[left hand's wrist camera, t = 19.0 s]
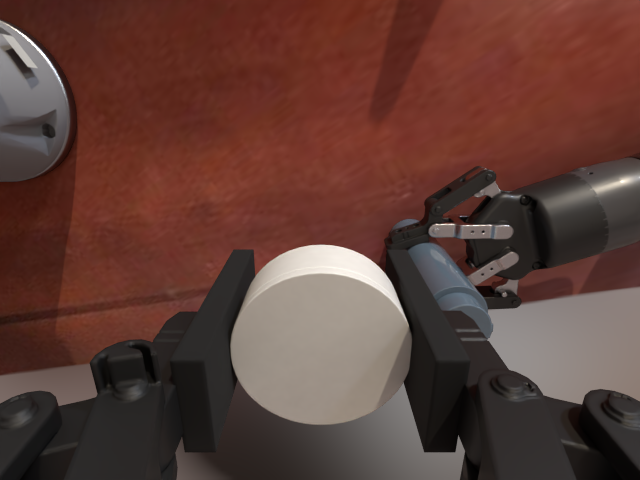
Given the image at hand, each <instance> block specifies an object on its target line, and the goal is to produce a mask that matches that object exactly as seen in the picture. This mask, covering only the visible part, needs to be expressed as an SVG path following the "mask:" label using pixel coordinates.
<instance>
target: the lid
mask: <svg viewBox="0 0 640 480" xmlns="http://www.w3.org/2000/svg"><path fill="white" fill-rule="evenodd" d="M411 346H412V335H411V331H410V328H409V324H408V322H407V319H406V317H405V314H404V312H403V309H402V307H401V304H400V302H399V299H398V297H397V294H396V292H395V289H394V287H393V285H392V283H391V281H390V280H389V278H388V277H387V275H386V274H385V273H384V272H383V271H382V270H381V269H380V267H379V266H377V265H376V264H375V263H374V262H372V261H371V260H370V259H368V258H366V257H365V256H363V255H361V254H359V253H357V252H355V251H353V250H349V249H346V248H343V247H338V246H332V245H311V246H305V247H300V248H297V249H293V250H290V251H288V252H286V253H284V254H281V255H279V256H278V257H276V258H275V259H273V260H272V261H270V262H269V263H268V264H267V265H265V266H264V267H263V268H262V269H261V270H260V272H259V273H258V274H257V275H256V276H255V278H254V279H253V281H252V282H251V284H250V287H249V289H248V291H247V293H246V296H245V299H244V301H243V304H242V306H241V309H240V312H239V314H238V317H237V320H236V322H235V325H234V328H233V331H232V335H231V342H230V355H231V361H232V366H233V368H234V371H235V374H236V376H237V378H238V380H239V382H240V384H241V385H242V387H243V388H244V389H245V391H246V392H247V393H248V394H249V395H250V396H251V397H252V399H253V400H255V401H256V402H257V403H258V404H259V405H261V406H262V407H264V408H265V409H267V410H268V411H270V412H272V413H274V414H276V415H278V416H280V417H283V418H285V419H288V420H291V421H295V422H299V423H305V424H314V425H328V424H338V423H344V422H348V421H352V420H355V419H358V418H360V417H363V416H365V415H367V414H369V413H371V412H373V411H375V410H376V409H378V408H379V407H381V406H382V405H383V404H385V403H386V402H387V401H388V400H389V399H390V398H391V397H392V396H393V395H394V394H395V393H396V392H397V391H398V389H399V388H400V387H401V385H402V384H403V382H404V380H405V378H406V376H407V374H408V371H409V366H410V356H411Z"/></svg>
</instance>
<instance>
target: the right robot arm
mask: <svg viewBox="0 0 640 480" xmlns="http://www.w3.org/2000/svg"><path fill="white" fill-rule="evenodd" d="M495 180H496V174H495V172H494V171H492V170H489V169H486V168H484V167H481V166H477V167H475V168H473V169H472V170H470V171H468V172H467V173H465V174H464V175H462V176H461V177H459V178H458V179H456V180H454V181H453V182H451V183H450V184H448V185H447V186H445V187H444V188H442V189H441V190H439V191H437V192H436V193H434V194H433V195H431V196H430V197H428V198H427V199H426V200H425V202H424V205H425V215H424V218H423V219H422V220H421V221H419V222H417V223H413V224H410V225H407V226H404V227H401V228H398V229H395V230H393V231H391V232H390V233H389V235H390V237H388V238H386V239H385V240H384V241H385V244H386V248H387V250H402V249H406V248H409V247H412V246H415V245H418V244H422V243H425V242H428V241H429V237H455V238H459V239H464V240H465V242H466V253H467V255H466V256H465V257H463V258H461V259H460V260H458V261H457V263H456V264H457V266H458V267H459V268H460V269H461V270H462V272H463V273H464V274H465V275H466V277H467V278H468V279H469V280H470V282H471V283H472V284H473V285H474V287H475V288H476V289H477V290H478V291H479V293H480V294H481V295H482V296H483V298H484V299H485V301H486V304H487V308H488V309H507V308H517V307H518V306H520V304H521V299H520V298H519V297H518V296H517V288H518V280H519V279H521V278H523V277H524V276H526V275H527V274H528V273H529V272H531V271H533V270H536V269H545V268H552V267H555V266H559V265H562V264H566V263H569V262H573V261H576V260H580V259H583V258H587V257H590V256H593V255H597V254H600V253H604V252H607V251H611V250H614V249H618V248H621V247H625V246H628V245H631V244H633V243H636V242H638V241H640V153H638V154H635V155H631V156H628V157H625V158H622V159H618V160H613V161H608V162H603V163H598V164H594V165H591V166H588V167H581V168H577V169H574V170H573V171H570V172H569V173H566V174H563V175H559V176H556V177H553V178H550V179H547V180H544V181H541V182H538V183H534V184H531V185H528V186H525V187H522V188H519V189H516V190H514V191H502V190H499V188H498V186H497V184H496V183H495ZM484 195H487V197H486V198H485V199H484V200H483V201H482V202H481V203H480V205H479V206H478V207H477V208H476V209H475V210H474V212H473V213H472V214H471V215H449V216H446V217H443V214H444V213H446V212H448V211H449V210H451V209H452V208H454V207H456V206H457V205H459V204H460V203H462V202H464V201H465V200H467V199H468V198H470V197H471V196H475V197H482V196H484ZM473 267H476V268H475V269H472V268H473ZM493 275H496V276H499V277H503V279H502V280H501V281H497V282H492V285H491V286H475V285H478V284H479V283H481V282H483V281H484V280H486V279H488V278H489V277H491V276H493Z"/></svg>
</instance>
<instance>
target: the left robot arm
mask: <svg viewBox="0 0 640 480" xmlns="http://www.w3.org/2000/svg"><path fill="white" fill-rule="evenodd" d="M76 125H77V115H76V106H75V101H74V97H73V93H72V90H71V87H70V85H69V83H68V80H67V78H66V76H65V74H64V72H63V71H62V69H61V67H60V66H59V64H58V63H57V61H56V60H55V59H54V57H53V56H52V55H51V54H50V53H49V51H48V50H47V49H46V48H45V47H44V46H43V45H42V44H41V43H40V42H39V41H37V40H36V39H35V38H34V37H33V36H31V35H30V34H28V33H27V32H26V31H24V30H22V29H21V28H19V27H17V26H15V25H13V24H11V23H9V22H6V21H3V20H1V19H0V182H13V181H22V180H27V179H31V178H35V177H39V176H42V175H44V174H46V173H48V172H50V171H52V170H53V169H55V168H56V167H57V166H58V165H59V164H60V163H61V162H62V161H63V160H64V159H65V157H66V156H67V154H68V153H69V151H70V149H71V147H72V144H73V141H74V138H75V133H76ZM385 274H386V275H387V277H388V278H389V280H390V281H391V283H392V285H393V287H394V289H395V292H396V294H397V297H398V299H399V302H400V304H401V307H402V309H403V312H404V314H405V317H406V319H407V322H408V324H409V328H410V331H411V335H412V346H411V356H410V366H409V371H408V374H407V376H406V378H405V380H404V385H405V388H406V392H407V395H408V399H409V402H410V405H411V409H412V412H413V415H414V419H415V422H416V426H417V429H418V432H419V436H420V439H421V442H422V446H423V449H424V452H455V451H456V445H457V439H458V435H459V437H460V440H461V442H462V445H463V447H464V449H465V455H464V461H463V466H462V472H461V477H460V480H640V402H639V401H638V400H636V399H634V398H632V397H630V396H628V395H625V394H622V393H619V392H616V391H610V390H603V389H599V390H592V391H590V392H589V393H587V394H586V395H585V397H584V400H583V404H582V405H581V404H576V403H572V402H567V401H562V400H558V399H554V398H550V397H547V396H543V394H542V392H541V391H540V389H539V388H538V386H537V385H536V384H535V383H534V382H532V381H531V380H530V379H529V378H527V377H525V376H523V375H521V374H519V373H517V372H514V371H511V370H509V369H508V368H507V366H506V365H505V364H504V362H503V361H502V359H501V358H500V357H499V355H498V354H497V352H496V351H495V349H494V348H493V347H492V345H491V344H490V342H489V341H487V338H486V337H485V335H484V334H483V332H481V329H480V328H479V327H478V325H477V324H476V322H475V321H474V320H473V319H472V318H471V317H469V316H468V315H466V314H465V313H463V312H462V311H442V310H441V308H440V307H439V305H438V303H437V301H436V300H435V298H434V296H433V294H432V293H431V291H430V289H429V288H428V286H427V284H426V282H425V281H424V279H423V277H422V275H421V274H420V272H419V270H418V269H417V267H416V265H415V263H414V262H413V260H412V258H411V257H410V255H409V253H408V251H407V250H387V254H386V269H385ZM254 278H255V266H254V251H253V250H233V252H232V254H231V255H230V257H229V259H228V260H227V262H226V264H225V266H224V267H223V269H222V271H221V272H220V274H219V276H218V278H217V279H216V281H215V283H214V285H213V286H212V288H211V290H210V291H209V293H208V295H207V297H206V298H205V300H204V302H203V303H202V305H201V307H200V309H199V310H198V312H179V313H177V314H176V315H174V316H173V317H172V318H170V319H169V320H167V321H166V323H165V324H164V326H163V327H162V328H161V330H160V331H159V333H158V334H157V336H156V337H155V338H154V340H153V342H152V343H151V342H150V341H146V340H142V339H141V340H127V341H123V342H119V343H116V344H114V345H111V346H109V347H107V348H105V349H104V350H102V351H101V352H99V353H98V354H96V355H95V357H94V358H93V359H92V360H91V362H90V366H91V370H92V374H93V377H94V381H95V385H96V389H97V393H98V394H97V397H95V398H92V399H89V400H85V401H80V402H76V403H71V404H67V405H62V406H58V403H57V400H56V397H55V396H54V395H53V394H52V393H50V392H45V391H34V392H27V393H24V394H21V395H17V396H15V397H12V398H10V399H8V400H6V401H4V402H3V403H1V404H0V480H176V477H177V461H176V455H175V452H176V449H177V447H178V445H179V442H180V440H181V437H182V438H183V444H184V450H185V452H216V450H217V446H218V443H219V440H220V436H221V433H222V430H223V426H224V423H225V419H226V416H227V413H228V409H229V406H230V403H231V399H232V396H233V393H234V389H235V386H236V383H237V379H238V378H237V376H236V374H235V371H234V368H233V366H232V361H231V355H230V342H231V335H232V331H233V328H234V325H235V322H236V320H237V317H238V314H239V312H240V309H241V306H242V304H243V301H244V299H245V296H246V293H247V291H248V289H249V287H250V284H251V282H252V281H253V279H254Z"/></svg>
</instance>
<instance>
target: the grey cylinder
mask: <svg viewBox="0 0 640 480" xmlns="http://www.w3.org/2000/svg"><path fill="white" fill-rule="evenodd" d="M417 222H419V221H418V220H415V219H406V220H403V221H400V222H398V223H397V224H396V225H395V226H394V227H393V228H392V229H391V231H393V230H395V229H398V228H401V227H404V226H407V225H410V224H413V223H417ZM391 231H390V232H391ZM389 237H390V235H389ZM402 250H407V251H408V253H409V255H410V257H411V258H412V260H413V262H414V263H415V265H416V267H417V269H418V270H419V272H420V274H421V275H422V277H423V279H424V281H425V282H426V284H427V286H428V288H429V289H430V291H431V293H432V294H433V296H434V298H435V300H436V301H437V303H438V305H439V307H440V308H441V310H442V311H462V312H463V313H465V314H466V315H468V316H469V317H471V318H472V319H473V320H474V321H475V322H476V324H477V325H478V327H479V328H480V329H481V332H483V334H484V335H485V337H486V338H487V339H488V338H490V335H491V333H492V331H493V324H492V323H491V319H490V317H489V315H488V308H487V304H486V301H485V299H484V298H483V296H482V295H481V294H480V293H479V291H478V290H477V289H476V288H475V287H474V285H473V284H472V283H471V282H470V280H469V279H468V278H467V277H466V275H465V274H464V273H463V272H462V270H461V269H460V268H459V267H458V266H457V264H456V263H455V262H454V261H453V259H452V258H451V257H450V256H449V254H448V253H447V252H446V251H445V249H444V248H443V247H442V246H441V245H440V243H439V242H438V241H437V240H436V238H435V237H429V241H428V242H425V243H422V244H418V245H415V246H412V247H409V248H406V249H402Z"/></svg>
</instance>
